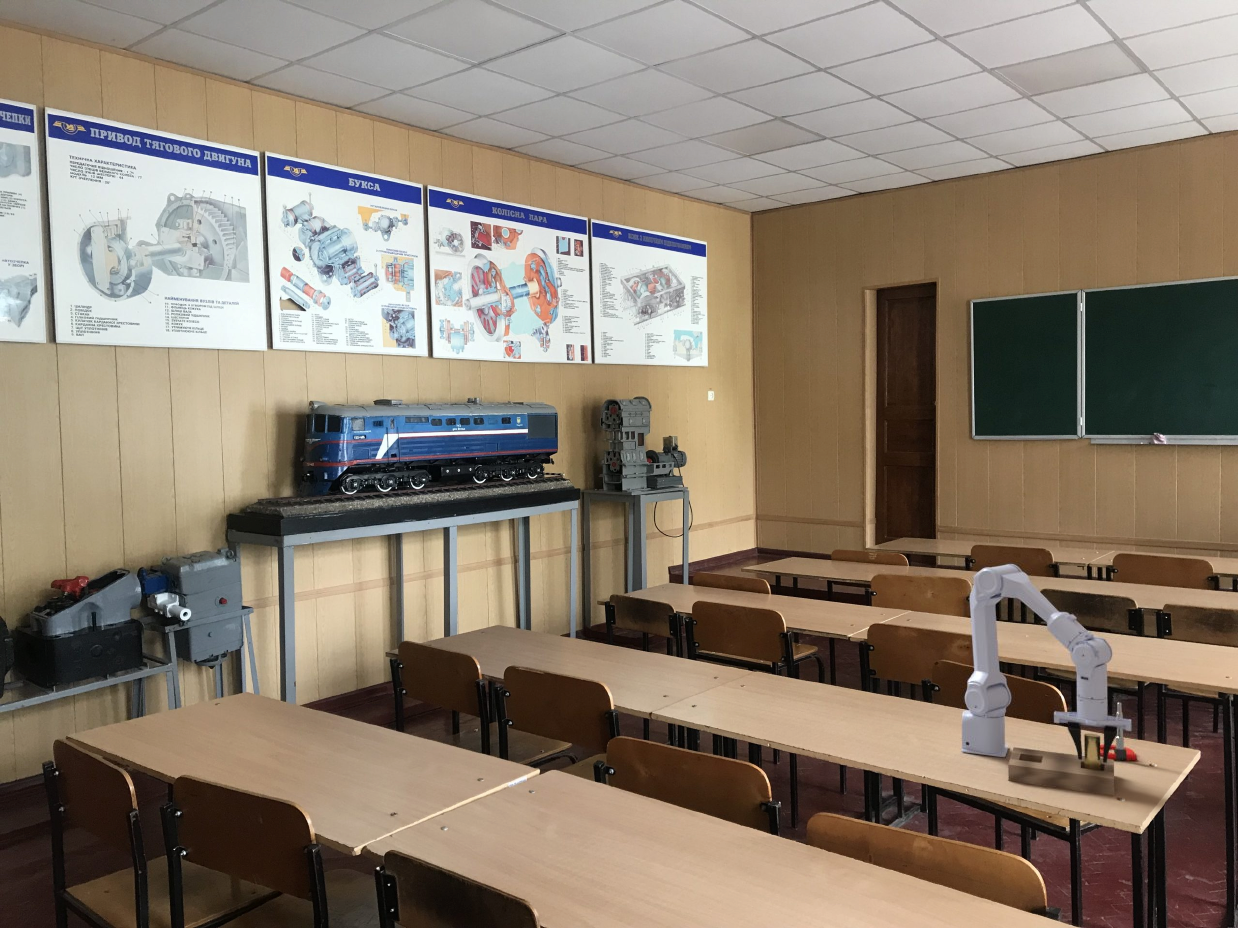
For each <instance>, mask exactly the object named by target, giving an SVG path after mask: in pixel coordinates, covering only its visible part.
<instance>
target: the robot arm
mask: <svg viewBox="0 0 1238 928" xmlns="http://www.w3.org/2000/svg"><path fill="white" fill-rule="evenodd" d="M1003 598H1011V599H1012V598H1013V599H1018V600H1019V601H1021V602H1022V603H1024V605H1026V606H1027V607H1028V608H1030V609H1031V610H1032V611H1033V612H1034V613H1035V614H1037V615H1038V616H1039V618H1041V619H1042V620H1043V621H1045V622H1046V625H1047V626H1046V627H1047V632H1048V633H1050V634H1051V635H1052V636H1053V637H1054V638H1055V639H1056V640H1057V641H1058V642H1059V643H1061V645H1062V646H1064V648H1065V649H1067V651H1069V655H1070V659H1071V660H1072V662H1073V664H1074V665H1075V673H1076V711H1056V710H1055V711H1054V712H1053V723H1056V724H1060V723H1061V724H1064V723H1065V724H1067V730H1068V733H1069V734H1070V736H1071V739H1072V741H1073V744H1074V745H1075V748H1076V753H1077V754H1076V755H1078V759H1080V760H1082V756H1083V745H1082V726H1091V727H1100V728H1103V745H1104V750H1103V756H1102V758H1103V762H1104V763H1107V757H1108V753H1109V752H1110V750H1111V749H1110V747H1111V745H1113V743H1114V741H1115V740H1116V737H1117V729H1123V730H1125V731H1127V732H1132V719H1128V718H1118V717H1117V716H1112V715H1108V665H1107V664H1108V663H1110V661H1111V660H1112V658H1113V650H1112V649H1113V648H1112V646H1111V645H1110V644H1109V642H1108V641H1107V640H1106V639H1105V638H1103V637H1101V636H1095V635H1094V633H1093V632H1092V631H1089V630H1087V629H1086V627H1085V628H1084V626H1083V625H1082V624H1081V623H1080V622H1078V620H1077V616H1076V615H1074V613H1072V614H1070V613H1069V612H1067V611H1066V612H1065V611H1059V610H1058V609H1057V608H1056V607H1055V606H1054V605H1053V604H1052V603H1051V602H1050V601H1049V600H1048V599H1047V597H1046V596H1044V595H1043V594H1042V593H1041V592H1040V590H1039V589H1038V588H1037V587H1036V586H1035V585H1034V584H1033V583H1032V582H1031V580H1030V577H1029V576H1028V574H1027V573H1026V572H1024V571H1022V569H1021V568H1020V567H1019V566H1017V565H1016V564H1014V563H1006V564H1003V565H998V566H992V567H984V568H982V569H981V570H979V571H978V572H977V573H976V574H974V575H973V586H972V589H971V591H970V594H969V609H970V624H971V625H970V626H971V638H972V639H971V640H972V656H973V657H972V658H973V668H974V671H973V672H972V674H971V676H970V677H969V678H968V679H967V685H966V686H967V688H966V692H965V695H964V703H965V704H966V708H967V709H968V710H963V711H962V717H961V752H962V753H967V754H973V755H975V754H976V755H985V756H990V757H999V758H1005V757H1006V756H1007V753H1008V751H1009V745H1007V744H1006V725H1005V724H1006V722H1005V721H1006V720H1005V719H1006V718H1005V717H1006V716H1005V714H1006V712H1007V707H1008V706H1009V705H1010V704H1011V701H1012V693H1011V691H1010V689H1009V687H1008V685H1007V678H1006V676H1005V675H1003V673H1002V672H1001V671H1000V661H999V660H1000V659H999V658H1000V657H999V646H998V645H999V644H998V633H997V632H998V627H997V616H996V615H997V614H996V613H997V612H996V604H997V603H999V602H1000V601H1001V600H1002V599H1003Z"/></svg>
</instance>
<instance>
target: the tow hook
mask: <svg viewBox="0 0 1238 928" xmlns="http://www.w3.org/2000/svg"><path fill="white" fill-rule="evenodd" d="M1116 703H1117V704H1116V705H1117V711H1116V717H1118V718H1123V712H1122V702H1116ZM1123 719H1124V718H1123ZM1123 733H1124V729H1117V735H1116V737H1115V744H1112V745H1111V747H1110V750H1114V751H1113V752H1110V751H1109V753H1108V757H1107V759H1112V760H1114V761H1138V756H1137V753H1135V751H1134V750H1133V749H1131V748H1128V747H1127V746H1126V747H1125V737H1124V734H1123ZM1103 750H1104V744H1100V757H1101V756H1102V757H1103Z"/></svg>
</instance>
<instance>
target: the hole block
mask: <svg viewBox="0 0 1238 928" xmlns="http://www.w3.org/2000/svg"><path fill="white" fill-rule="evenodd" d="M1007 768H1008V769H1007V770H1008V778H1007V779H1008V781H1009V782H1014V783H1015V782H1017V783H1024V784H1028V785H1029V784H1031V785H1039V786H1045V787H1052V788H1058V789H1059V788H1060V789H1065V790H1070V791H1071V790H1072V791H1073V790H1074V791H1080V792H1087V793H1092V794H1093V793H1094V794H1100V795H1108V796H1115V760H1112V759H1107V763H1104V762H1103V757H1102V758H1101V757H1100V769H1101V771H1099V770H1091V769H1085V755H1082V760H1080V759H1078V754H1070V753H1062V752H1053V751H1049V750H1048V751H1046V750H1039V749H1030V748H1023V747H1014V746H1013V748H1012V751H1011V754H1010V757H1009V761H1008V765H1007Z"/></svg>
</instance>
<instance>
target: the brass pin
mask: <svg viewBox="0 0 1238 928" xmlns="http://www.w3.org/2000/svg"><path fill="white" fill-rule="evenodd" d="M1083 737H1084V746H1083V747H1084V749H1083V750H1084V756H1085V769H1091V770H1099V771H1101V769H1100V758H1101V755H1100V745H1101V735H1099V734H1097V733H1084V735H1083Z"/></svg>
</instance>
